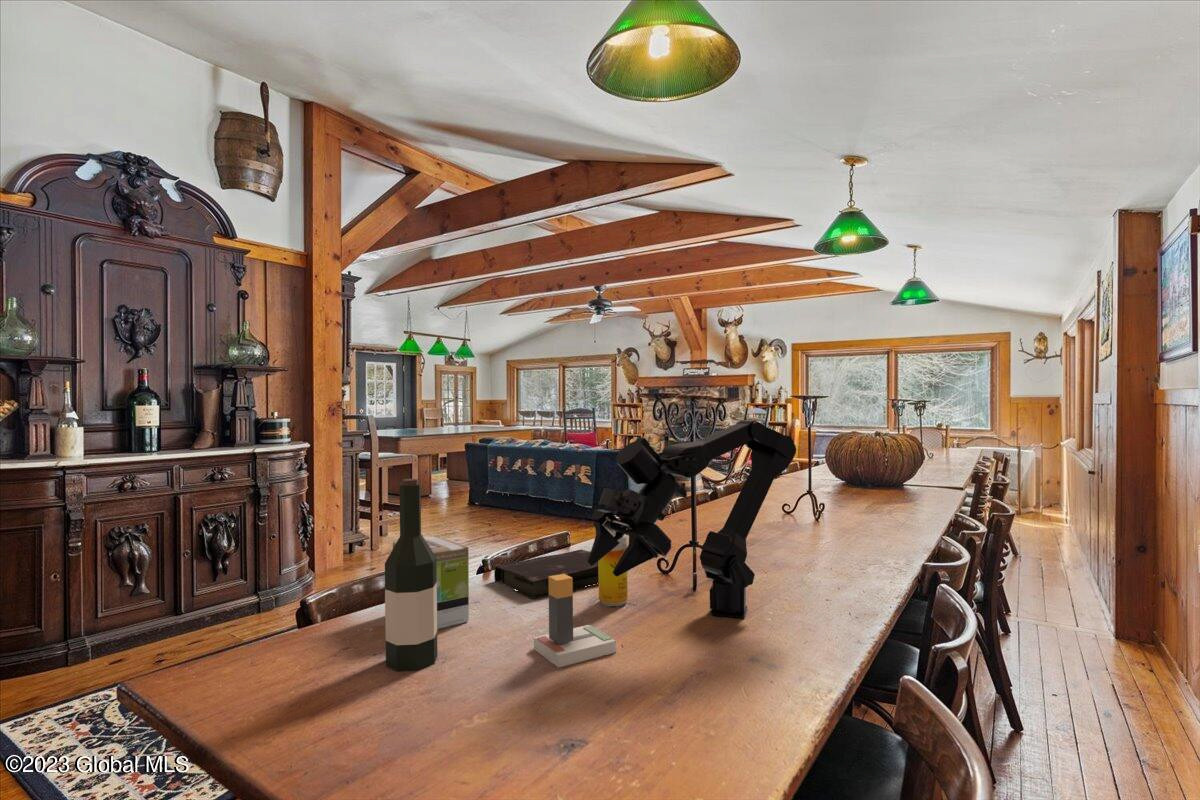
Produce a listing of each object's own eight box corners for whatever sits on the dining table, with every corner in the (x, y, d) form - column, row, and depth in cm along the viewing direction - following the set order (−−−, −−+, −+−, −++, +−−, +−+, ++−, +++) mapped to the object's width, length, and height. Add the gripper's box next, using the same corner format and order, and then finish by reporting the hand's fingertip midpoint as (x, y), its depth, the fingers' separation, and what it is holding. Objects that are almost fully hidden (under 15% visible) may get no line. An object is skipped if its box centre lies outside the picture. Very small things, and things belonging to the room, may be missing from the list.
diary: (493, 584, 151) (493, 563, 151) (580, 566, 166) (579, 547, 166) (534, 603, 136) (534, 579, 136) (625, 581, 151) (625, 560, 151)
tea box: (471, 622, 124) (470, 545, 124) (421, 634, 118) (420, 554, 118) (437, 603, 136) (436, 533, 136) (391, 613, 129) (390, 540, 129)
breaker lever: (564, 634, 110) (564, 573, 110) (573, 640, 108) (572, 577, 108) (549, 638, 109) (548, 576, 108) (557, 644, 106) (556, 580, 106)
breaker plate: (588, 635, 116) (588, 623, 116) (615, 652, 108) (615, 639, 108) (533, 648, 110) (533, 636, 110) (558, 667, 103) (558, 653, 103)
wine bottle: (390, 675, 100) (387, 484, 100) (381, 656, 108) (379, 478, 107) (443, 665, 104) (441, 480, 104) (431, 647, 111) (429, 475, 111)
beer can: (625, 608, 131) (624, 535, 131) (596, 606, 132) (595, 534, 132) (629, 598, 137) (629, 528, 137) (601, 597, 138) (601, 528, 138)
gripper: (598, 467, 123) (547, 531, 117) (657, 477, 107) (601, 552, 101) (633, 504, 127) (585, 568, 121) (693, 519, 111) (642, 593, 105)
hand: (601, 569), depth 112 cm, fingers open, 8 cm apart
